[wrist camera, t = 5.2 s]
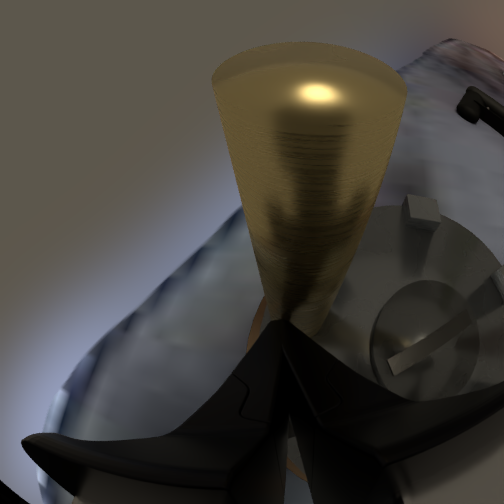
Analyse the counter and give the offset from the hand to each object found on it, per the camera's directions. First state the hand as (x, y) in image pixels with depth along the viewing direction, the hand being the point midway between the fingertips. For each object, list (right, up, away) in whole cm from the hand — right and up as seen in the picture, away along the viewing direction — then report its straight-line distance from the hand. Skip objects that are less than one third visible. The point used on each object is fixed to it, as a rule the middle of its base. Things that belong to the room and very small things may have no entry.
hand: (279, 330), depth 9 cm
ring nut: (+8, -3, +4) cm, 9 cm away
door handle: (+37, +19, +14) cm, 44 cm away
